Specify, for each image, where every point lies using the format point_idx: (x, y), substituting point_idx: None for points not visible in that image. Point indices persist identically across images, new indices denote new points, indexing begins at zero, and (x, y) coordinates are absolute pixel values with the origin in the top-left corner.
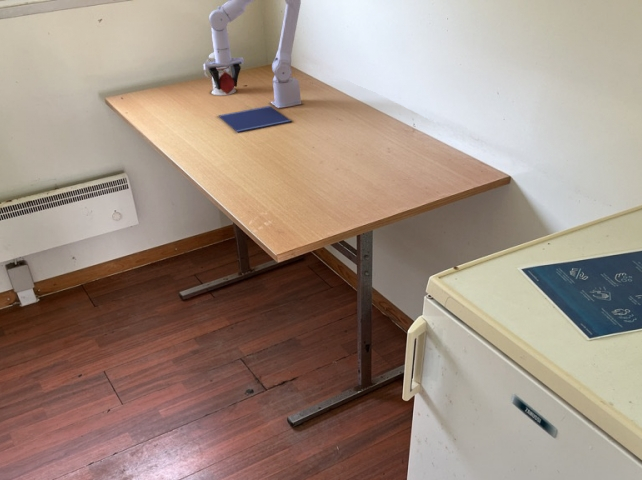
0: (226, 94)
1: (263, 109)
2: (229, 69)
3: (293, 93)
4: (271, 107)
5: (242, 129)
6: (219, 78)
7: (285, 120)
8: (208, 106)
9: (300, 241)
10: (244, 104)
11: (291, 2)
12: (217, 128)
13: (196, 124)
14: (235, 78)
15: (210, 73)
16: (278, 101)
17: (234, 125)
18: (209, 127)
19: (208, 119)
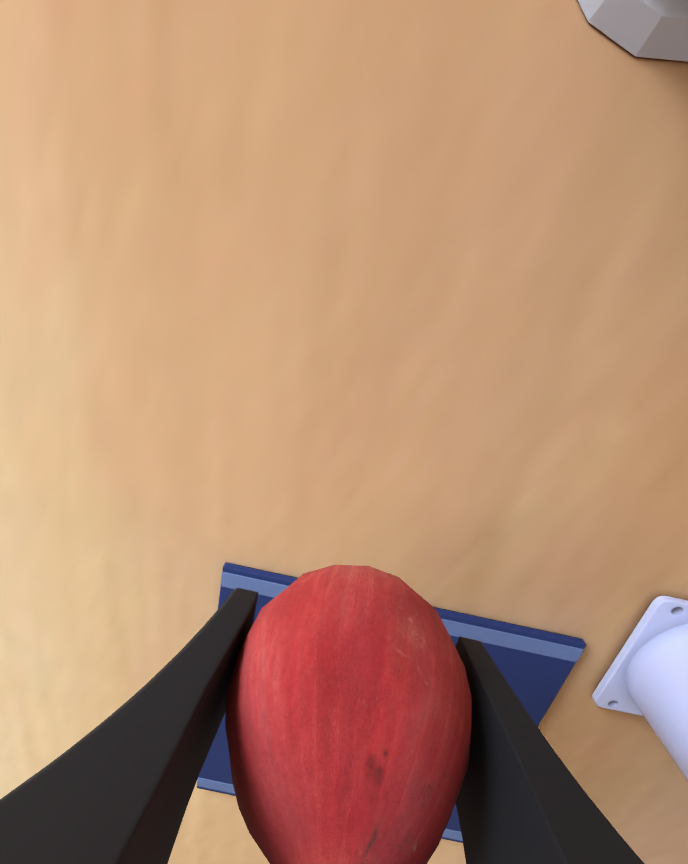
0: (640, 47)
1: (506, 664)
2: None
3: None
4: (568, 671)
5: (225, 786)
6: (240, 747)
7: (453, 827)
8: (269, 301)
9: None
10: (515, 477)
11: None
12: None
13: (55, 578)
14: (468, 839)
15: (3, 811)
16: (643, 712)
17: (220, 733)
18: (107, 657)
19: (148, 557)
